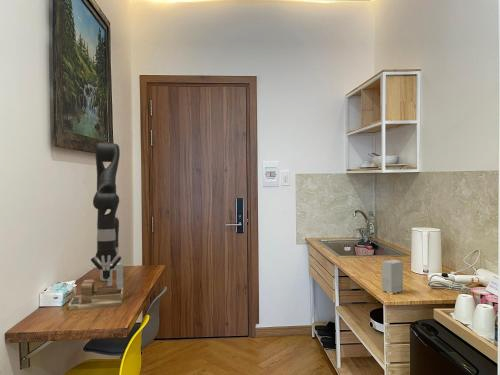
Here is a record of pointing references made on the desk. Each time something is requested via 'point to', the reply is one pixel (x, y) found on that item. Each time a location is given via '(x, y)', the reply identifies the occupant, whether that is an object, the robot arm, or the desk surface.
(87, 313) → the desk surface
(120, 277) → the skincare box
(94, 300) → the tunnel board
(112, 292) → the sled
